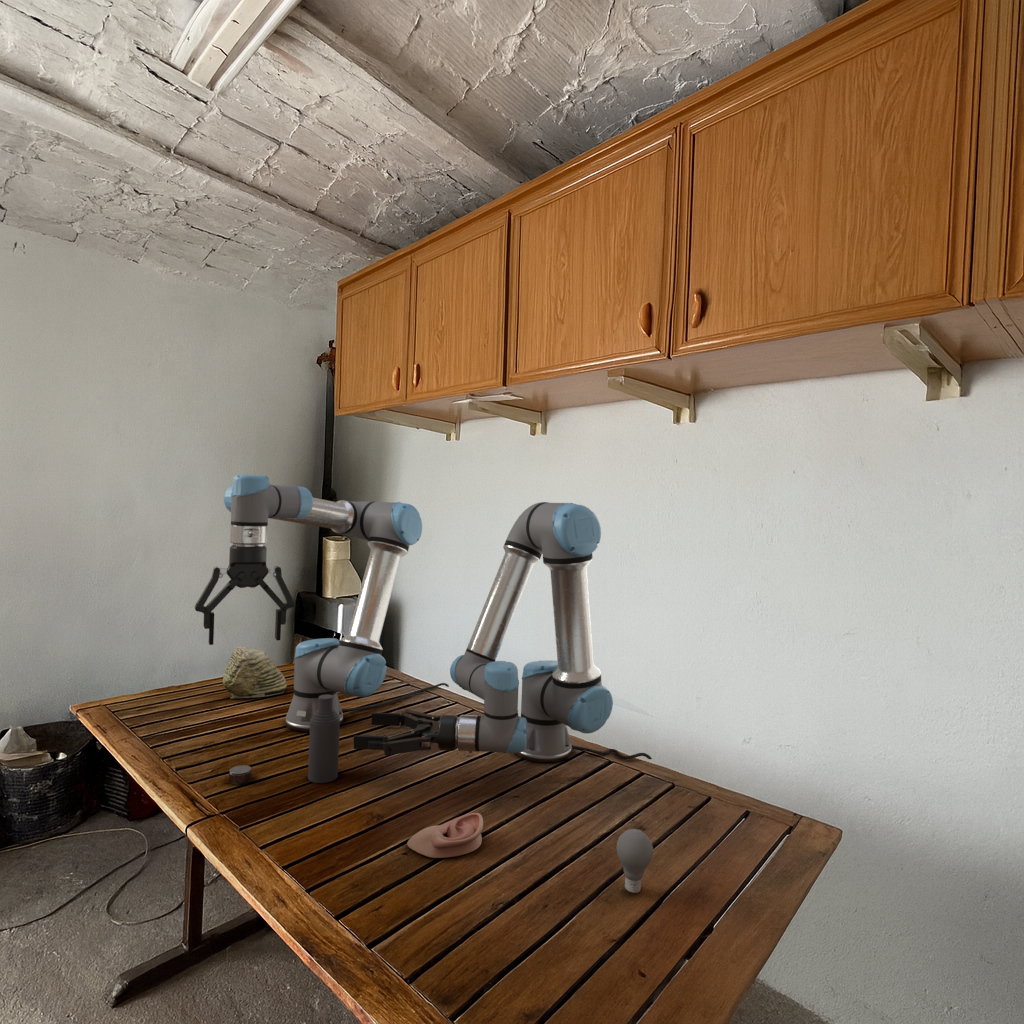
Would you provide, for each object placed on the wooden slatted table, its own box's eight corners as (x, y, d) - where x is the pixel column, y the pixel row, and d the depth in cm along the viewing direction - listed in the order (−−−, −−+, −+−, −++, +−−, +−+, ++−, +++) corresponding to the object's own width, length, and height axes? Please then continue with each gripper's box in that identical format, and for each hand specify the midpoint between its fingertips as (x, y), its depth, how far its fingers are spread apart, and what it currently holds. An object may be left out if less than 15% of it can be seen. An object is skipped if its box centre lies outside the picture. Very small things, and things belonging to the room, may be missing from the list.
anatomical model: (401, 831, 114) (423, 801, 125) (400, 853, 114) (422, 821, 125) (472, 842, 111) (488, 811, 122) (471, 864, 111) (487, 831, 122)
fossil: (218, 695, 195) (220, 647, 195) (278, 685, 208) (279, 640, 207) (228, 703, 189) (230, 653, 188) (289, 692, 201) (290, 645, 201)
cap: (246, 774, 143) (247, 763, 143) (254, 781, 140) (254, 770, 139) (226, 779, 140) (226, 768, 140) (233, 786, 137) (233, 775, 136)
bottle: (329, 784, 139) (332, 702, 139) (302, 781, 141) (305, 699, 140) (342, 772, 146) (345, 693, 145) (316, 769, 147) (319, 691, 147)
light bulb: (610, 879, 108) (613, 822, 108) (644, 879, 109) (647, 822, 109) (619, 902, 102) (622, 840, 102) (655, 901, 103) (658, 840, 103)
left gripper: (185, 546, 129) (181, 649, 130) (310, 546, 142) (307, 640, 142) (183, 543, 136) (180, 641, 136) (303, 543, 148) (300, 634, 149)
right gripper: (448, 774, 128) (345, 771, 130) (464, 728, 153) (378, 725, 155) (448, 738, 128) (345, 735, 129) (464, 697, 153) (378, 695, 154)
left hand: (245, 641), depth 139 cm, fingers open, 13 cm apart
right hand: (363, 729), depth 142 cm, fingers open, 13 cm apart
